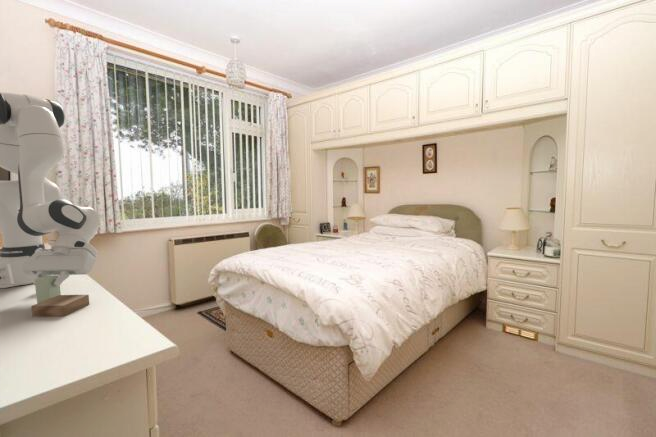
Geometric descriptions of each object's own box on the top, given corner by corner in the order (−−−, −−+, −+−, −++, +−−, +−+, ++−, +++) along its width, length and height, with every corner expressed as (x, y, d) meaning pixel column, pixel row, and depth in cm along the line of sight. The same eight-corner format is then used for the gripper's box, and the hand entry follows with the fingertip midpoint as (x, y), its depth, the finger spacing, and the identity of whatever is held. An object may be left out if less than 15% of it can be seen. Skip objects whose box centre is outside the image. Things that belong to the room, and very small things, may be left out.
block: (37, 304, 97) (34, 279, 96) (48, 299, 101) (46, 275, 100) (50, 304, 97) (47, 278, 96) (61, 299, 101) (58, 275, 100)
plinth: (32, 316, 88) (31, 305, 87) (60, 304, 97) (59, 295, 96) (64, 315, 88) (63, 305, 87) (89, 304, 97) (88, 294, 96)
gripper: (31, 243, 104) (4, 281, 96) (93, 243, 104) (71, 280, 95) (45, 254, 109) (20, 290, 100) (103, 253, 109) (84, 290, 100)
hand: (45, 285), depth 98 cm, fingers closed on block, 4 cm apart
